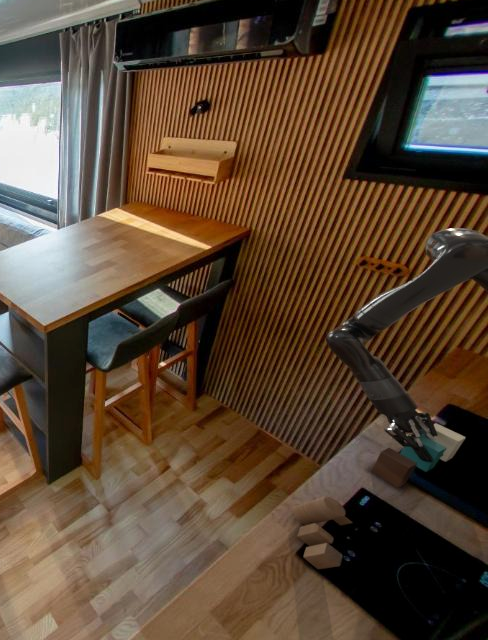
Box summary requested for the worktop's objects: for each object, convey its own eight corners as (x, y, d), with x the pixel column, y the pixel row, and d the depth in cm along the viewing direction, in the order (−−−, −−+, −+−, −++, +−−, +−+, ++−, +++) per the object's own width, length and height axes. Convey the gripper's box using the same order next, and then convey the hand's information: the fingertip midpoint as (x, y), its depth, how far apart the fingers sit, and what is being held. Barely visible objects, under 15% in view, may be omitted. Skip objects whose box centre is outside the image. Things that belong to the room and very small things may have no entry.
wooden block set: (321, 578, 81) (361, 573, 74) (278, 543, 85) (312, 535, 78) (337, 518, 90) (374, 508, 83) (297, 488, 94) (330, 477, 87)
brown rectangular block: (378, 467, 97) (389, 447, 94) (405, 483, 93) (417, 463, 89) (370, 471, 97) (381, 451, 93) (397, 488, 92) (409, 467, 89)
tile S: (405, 452, 99) (417, 432, 96) (433, 467, 95) (446, 447, 91) (398, 456, 99) (410, 436, 95) (425, 472, 94) (439, 452, 91)
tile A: (424, 442, 101) (435, 423, 97) (452, 457, 96) (466, 437, 93) (417, 446, 100) (429, 427, 97) (445, 461, 96) (459, 441, 92)
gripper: (385, 401, 94) (434, 470, 88) (421, 384, 97) (471, 450, 91) (352, 402, 101) (396, 466, 95) (387, 386, 104) (432, 447, 98)
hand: (433, 458), depth 93 cm, fingers closed on tile S, 3 cm apart
